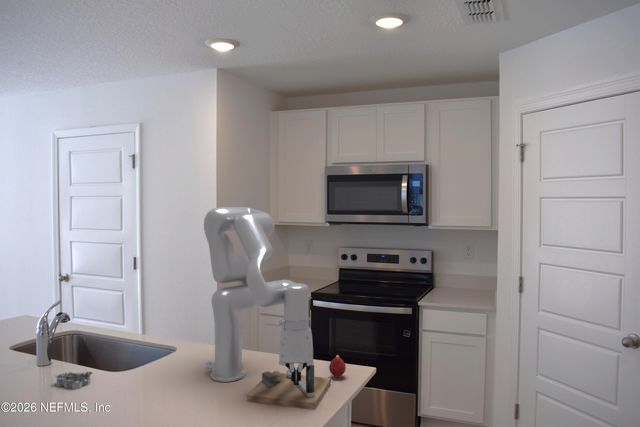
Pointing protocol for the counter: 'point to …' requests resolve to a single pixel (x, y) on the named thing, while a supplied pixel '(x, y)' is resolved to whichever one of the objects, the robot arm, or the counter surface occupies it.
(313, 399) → the board
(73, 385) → the egg carton
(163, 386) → the counter surface
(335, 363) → the onion
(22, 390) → the counter surface
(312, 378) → the lever
